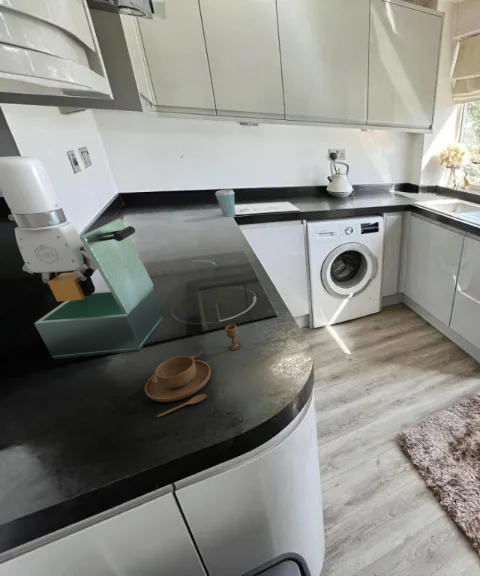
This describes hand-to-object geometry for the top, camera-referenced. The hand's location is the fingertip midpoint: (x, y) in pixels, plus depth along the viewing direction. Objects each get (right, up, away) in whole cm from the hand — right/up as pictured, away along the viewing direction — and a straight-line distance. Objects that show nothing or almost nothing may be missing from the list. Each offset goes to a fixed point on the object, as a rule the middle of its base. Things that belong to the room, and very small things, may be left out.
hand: (75, 294), depth 76 cm
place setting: (+33, -18, -6) cm, 38 cm away
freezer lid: (+11, +7, -1) cm, 13 cm away
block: (0, 0, 0) cm, 0 cm away
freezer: (+4, -11, +6) cm, 13 cm away
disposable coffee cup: (-23, +47, +124) cm, 134 cm away
